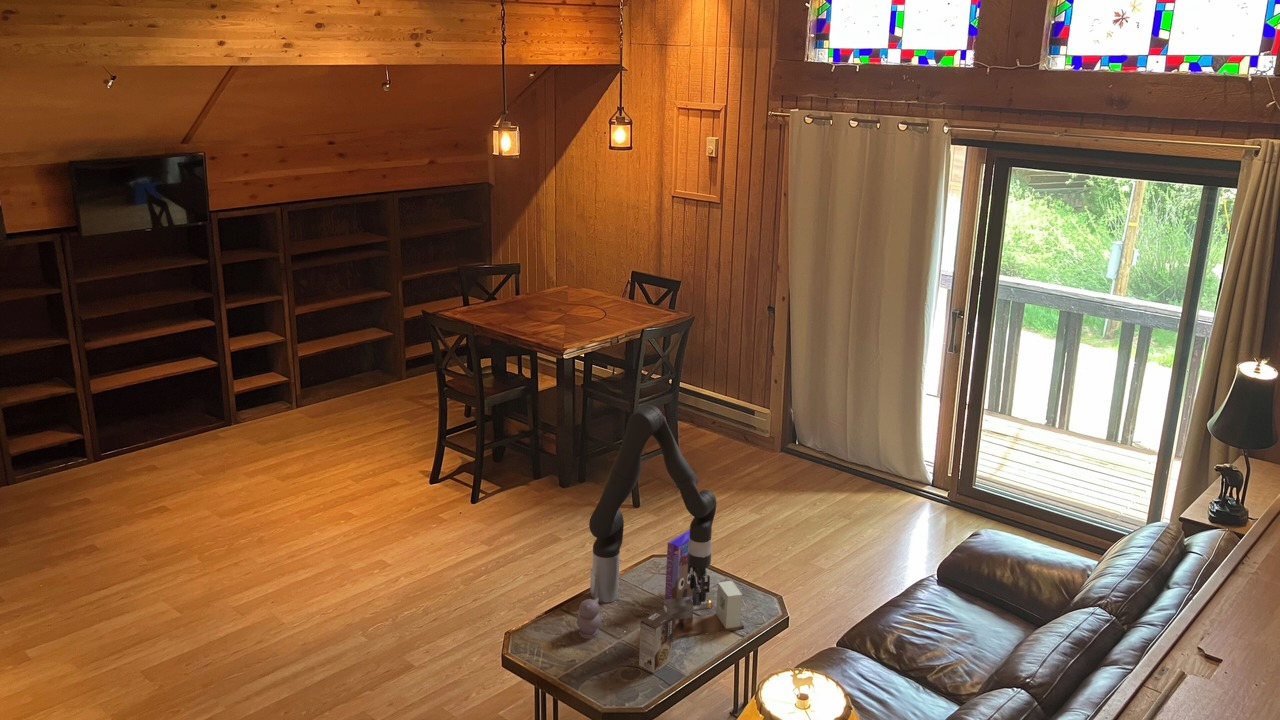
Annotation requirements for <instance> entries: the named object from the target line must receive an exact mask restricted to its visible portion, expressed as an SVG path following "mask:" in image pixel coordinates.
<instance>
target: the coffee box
mask: <svg viewBox="0 0 1280 720" xmlns="http://www.w3.org/2000/svg"><path fill="white" fill-rule="evenodd" d="M673 621H674V616H672V615H669V614H668V613H666V612H664V611H662V610H661V609H659V608H657V609H656V610H654V612H652V613H650V614H648V615H647V616H646V617H644V618H643V619H641V620H640V632H639V633H640V635H639V659H638V660H639V663H638V664H639V667H642V668H643V669H645V670H647V671H649V672H651V673H653V674H655V673H657V672H659V670H660V669H662V668H663V667H665V666H666V665H668V664H669V663H671V662H672V661H673V643H674V642H673V641H674V639H673Z"/></svg>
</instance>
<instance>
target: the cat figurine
mask: <svg viewBox="0 0 1280 720" xmlns="http://www.w3.org/2000/svg"><path fill="white" fill-rule="evenodd" d="M598 600H599V598H597V599H595V600H593V598H588V599H584V600H583V601H581V603H580V604H579V608H578V612H579V613H578V614H579V615H578V616H577V618H576V625H577V627H578V628H579V631H578V632H579V633H578V634H579V636H580V637H581V638H583V639H585V640H593V639H596V638H597V637H599V634H600V629H599V627H600V626H601V625H602V621H603V619H602V616H601V614H600V607H601V606H600V604H599V602H598Z"/></svg>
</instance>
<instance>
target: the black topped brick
mask: <svg viewBox="0 0 1280 720" xmlns="http://www.w3.org/2000/svg"><path fill="white" fill-rule="evenodd" d="M691 601H692V602H693V604H694V607H693V612H696V611H697V612H700V611H705V610H712V609H713V602H712V599H706V601H705V602H699V587H693V596H692V599H691ZM662 607H663V606H662ZM663 611H664V612H666V613H667V608H666V606H664V607H663Z"/></svg>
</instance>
